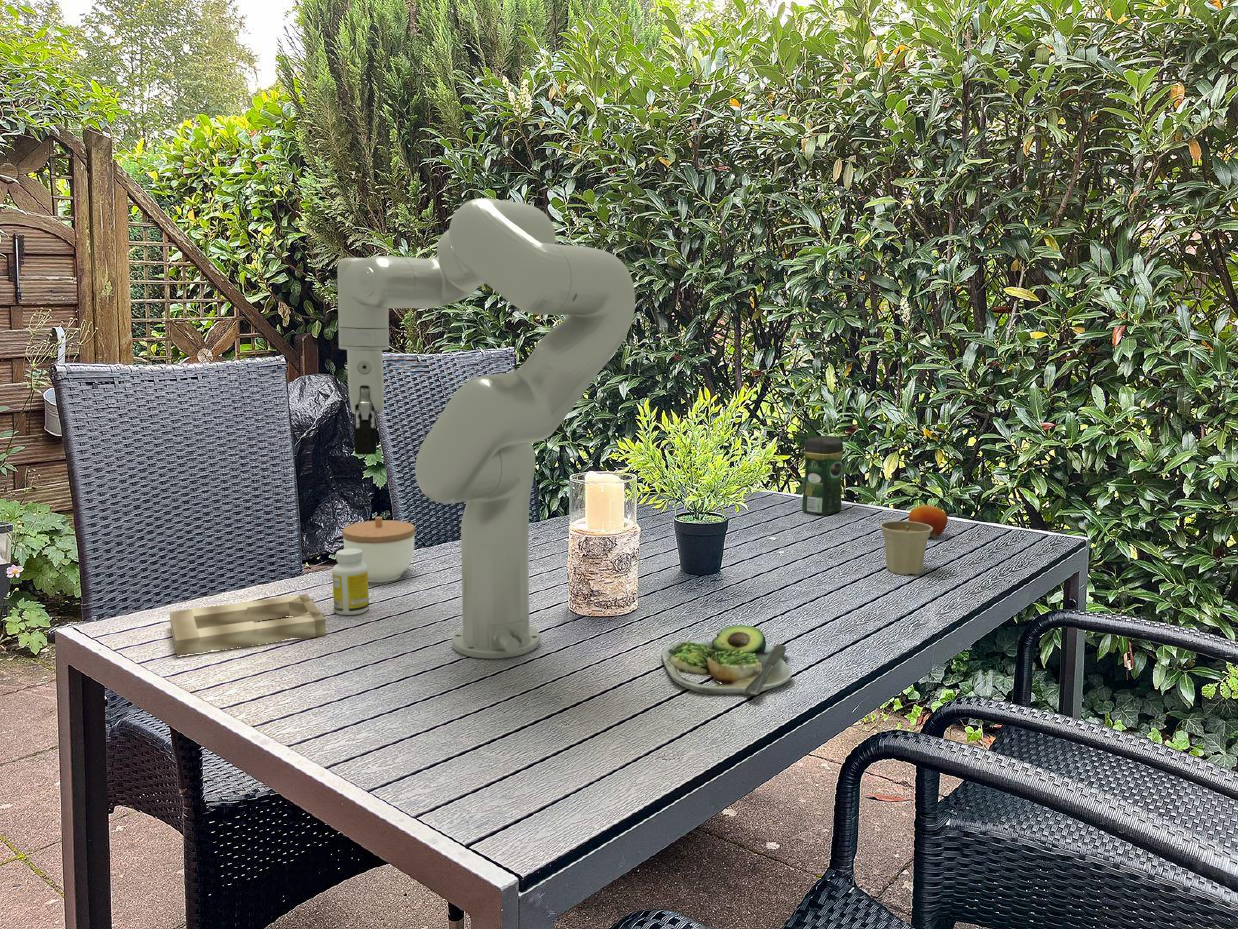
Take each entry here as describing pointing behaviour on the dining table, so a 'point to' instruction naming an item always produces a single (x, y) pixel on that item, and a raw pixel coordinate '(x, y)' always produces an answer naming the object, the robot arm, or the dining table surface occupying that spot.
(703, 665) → the avocado toast plate
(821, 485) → the coffee jar
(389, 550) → the lidded bowl
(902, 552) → the flower pot
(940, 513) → the fruit
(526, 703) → the dining table surface
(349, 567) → the supplement bottle
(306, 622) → the beige flat rectangular frame
